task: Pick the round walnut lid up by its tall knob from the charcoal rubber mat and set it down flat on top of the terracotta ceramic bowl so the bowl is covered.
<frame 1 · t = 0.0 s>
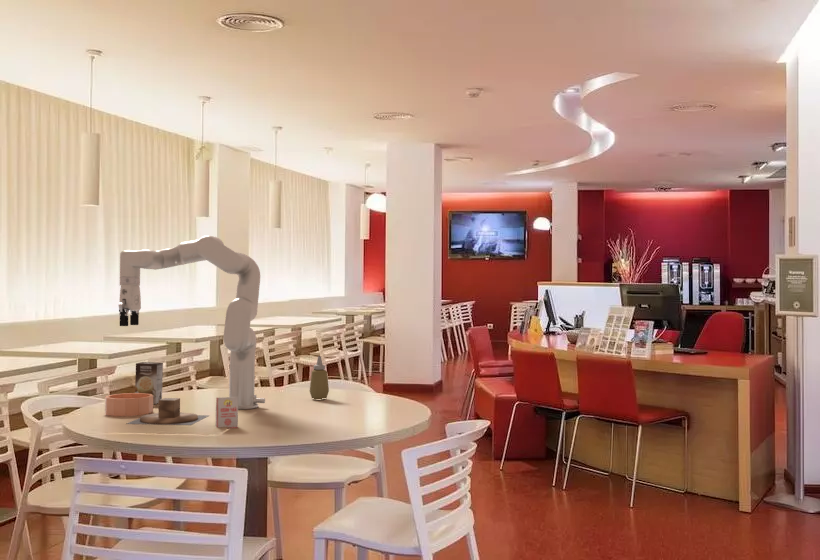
hand: (129, 325, 301), 31 cm above the table, fingers open, 9 cm apart
mat: (169, 421, 265), on the table
bowl: (129, 413, 280), on the table
squeeze bottle: (319, 400, 322), on the table
red and white carton: (226, 428, 254), on the table
lid: (169, 419, 265), point 1 cm above the table, touching mat
coffee box: (148, 403, 308), on the table
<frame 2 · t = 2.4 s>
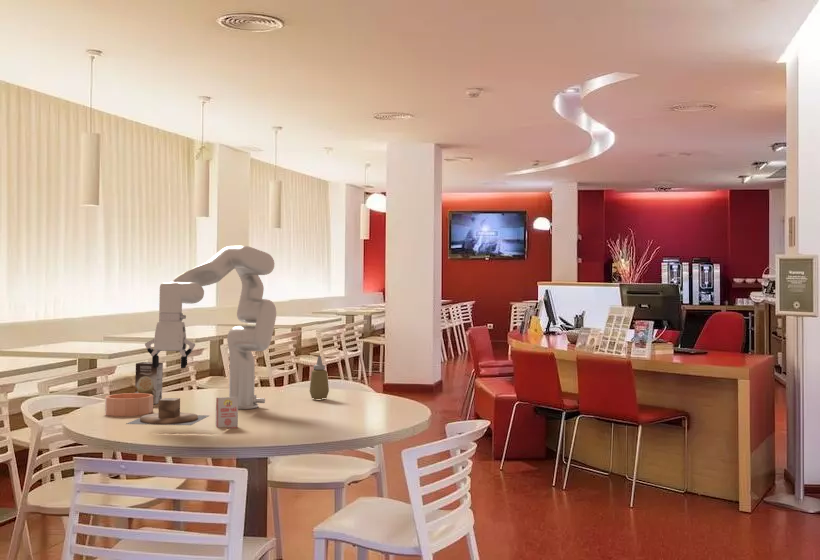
hand: (169, 367, 265), 18 cm above the table, fingers open, 9 cm apart
nothing on the table moved.
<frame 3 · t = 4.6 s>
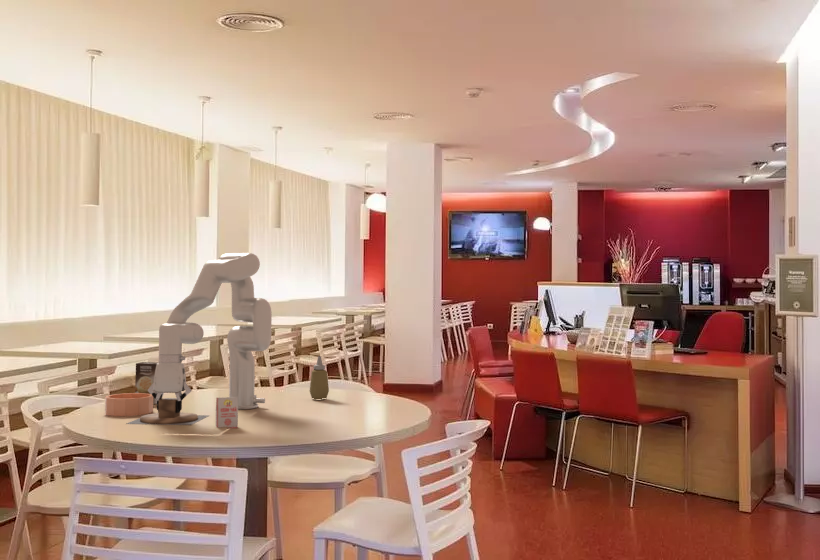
hand: (169, 411, 265), 3 cm above the table, fingers closed on lid, 5 cm apart
lid: (169, 419, 265), point 1 cm above the table, touching gripper, mat
everything else where it was.
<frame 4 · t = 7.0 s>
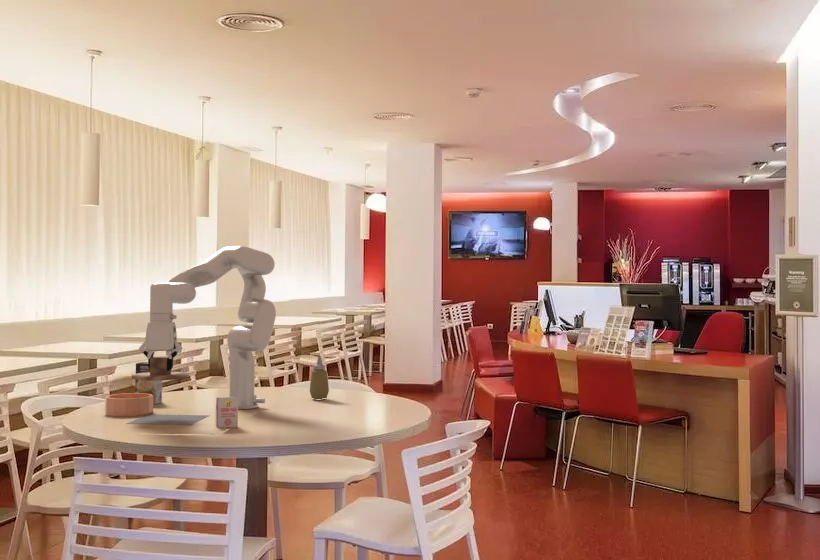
hand: (160, 369, 269), 17 cm above the table, fingers closed on lid, 5 cm apart
lid: (160, 377, 269), point 15 cm above the table, touching gripper
everything else where it was.
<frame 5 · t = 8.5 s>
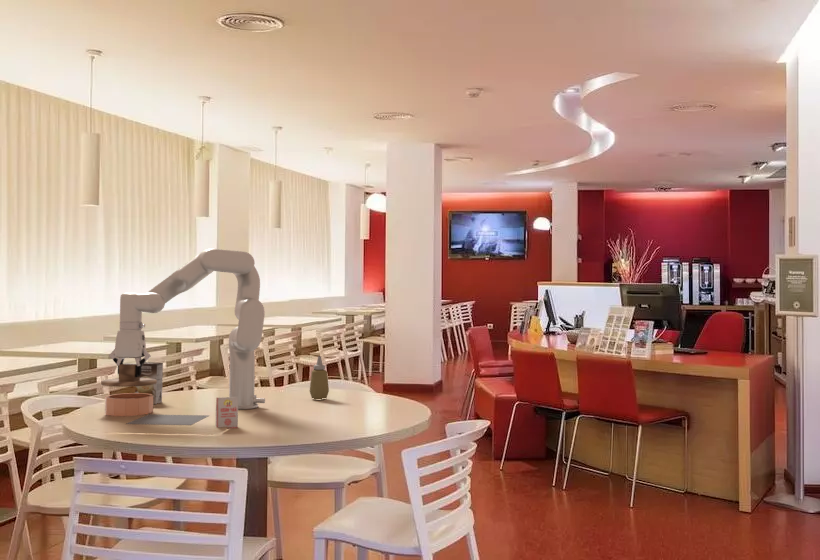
hand: (129, 376, 280), 14 cm above the table, fingers closed on lid, 5 cm apart
lid: (129, 383, 280), point 11 cm above the table, touching gripper
everything else where it was.
when the fingers open (11 cm above the table, at t = 9.5 s): lid drops 1 cm, resting on bowl.
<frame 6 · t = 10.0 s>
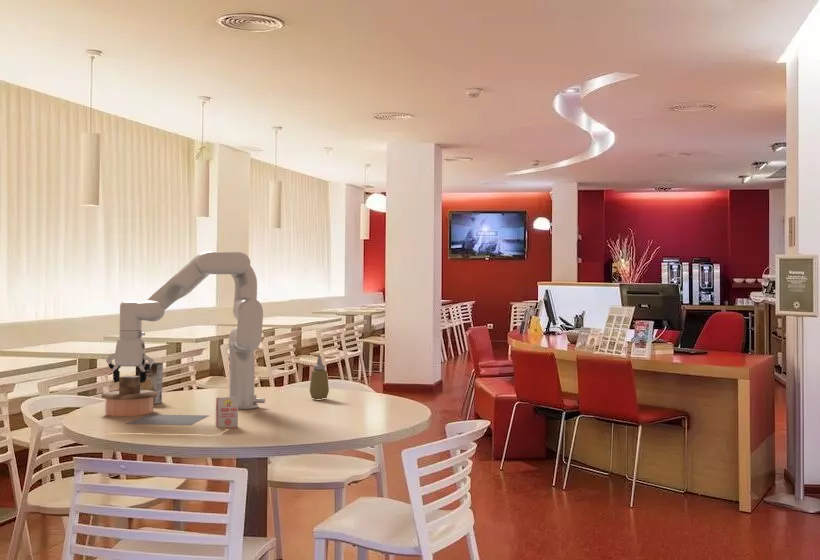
hand: (129, 382, 280), 12 cm above the table, fingers open, 9 cm apart
lid: (129, 396, 280), point 6 cm above the table, touching bowl
everything else where it was.
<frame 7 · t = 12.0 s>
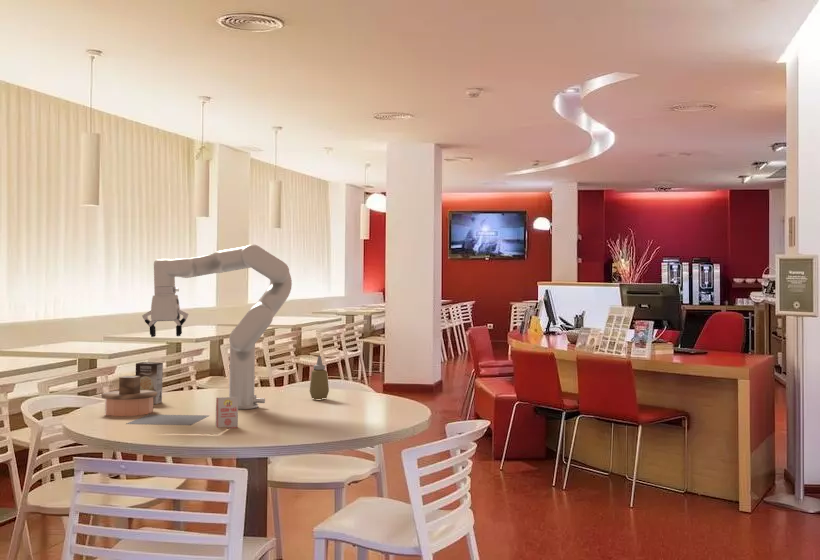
hand: (165, 336, 293), 28 cm above the table, fingers open, 9 cm apart
nothing on the table moved.
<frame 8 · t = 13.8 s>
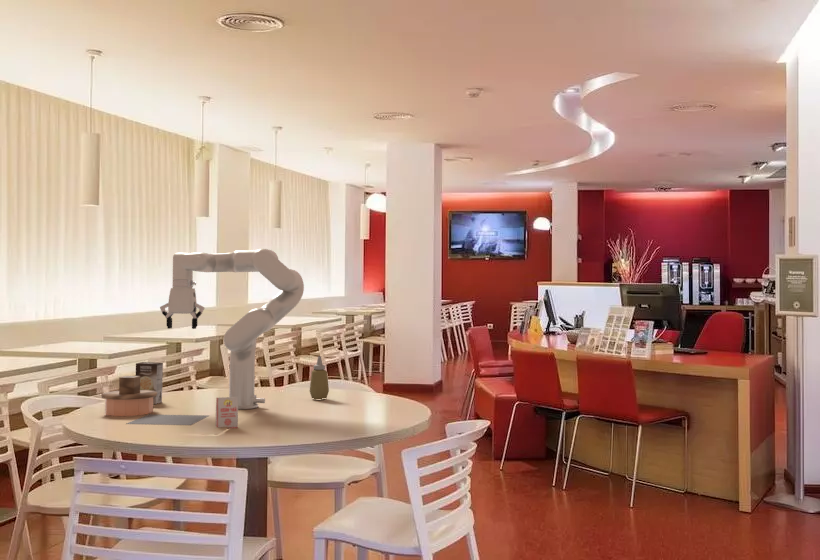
hand: (181, 328, 300), 30 cm above the table, fingers open, 9 cm apart
nothing on the table moved.
at the end: lid 0.1 cm off-centre on the bowl, point 6.5 cm above the bowl's base; lid tilted 0°; the gripper is holding nothing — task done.
